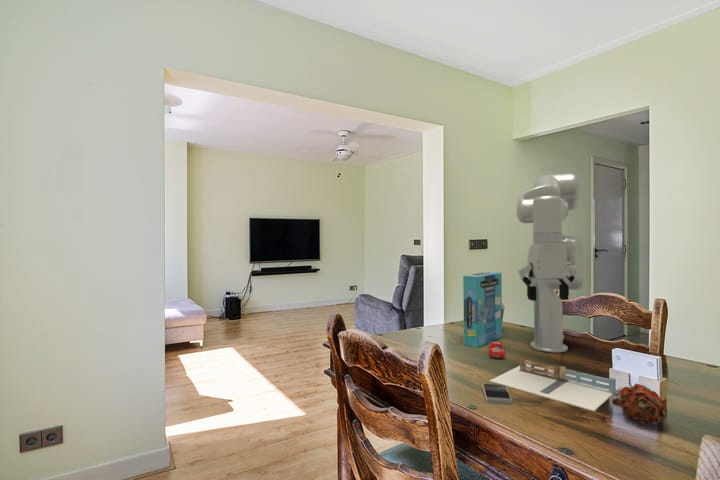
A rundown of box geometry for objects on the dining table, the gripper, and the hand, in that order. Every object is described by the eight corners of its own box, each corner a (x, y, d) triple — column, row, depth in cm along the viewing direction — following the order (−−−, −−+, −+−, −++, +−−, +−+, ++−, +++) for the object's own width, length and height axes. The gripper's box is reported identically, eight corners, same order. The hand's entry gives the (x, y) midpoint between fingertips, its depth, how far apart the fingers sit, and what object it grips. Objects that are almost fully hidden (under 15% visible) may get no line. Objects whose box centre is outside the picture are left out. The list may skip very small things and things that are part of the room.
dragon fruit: (653, 441, 81) (623, 423, 93) (687, 418, 81) (652, 402, 93) (625, 406, 83) (598, 392, 95) (657, 383, 83) (626, 372, 95)
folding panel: (559, 379, 111) (559, 367, 111) (561, 377, 112) (561, 366, 112) (614, 392, 101) (614, 379, 101) (615, 391, 102) (615, 378, 102)
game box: (488, 335, 165) (487, 271, 165) (502, 337, 160) (502, 272, 160) (463, 344, 150) (462, 275, 150) (478, 348, 146) (477, 276, 146)
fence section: (520, 371, 120) (520, 358, 120) (522, 370, 121) (521, 357, 121) (558, 381, 112) (558, 367, 112) (559, 379, 113) (559, 366, 113)
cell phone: (505, 389, 107) (505, 384, 107) (512, 406, 96) (512, 401, 96) (482, 388, 108) (482, 383, 108) (486, 405, 98) (486, 399, 98)
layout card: (524, 364, 127) (524, 363, 127) (621, 386, 107) (621, 385, 107) (489, 381, 112) (489, 380, 112) (594, 411, 92) (594, 410, 92)
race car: (505, 361, 131) (505, 349, 131) (488, 359, 133) (488, 348, 133) (504, 350, 144) (504, 339, 144) (488, 349, 145) (488, 338, 145)
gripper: (566, 239, 115) (567, 296, 115) (512, 239, 113) (512, 298, 113) (584, 239, 108) (585, 300, 108) (526, 239, 106) (526, 302, 106)
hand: (548, 299), depth 111 cm, fingers open, 9 cm apart
